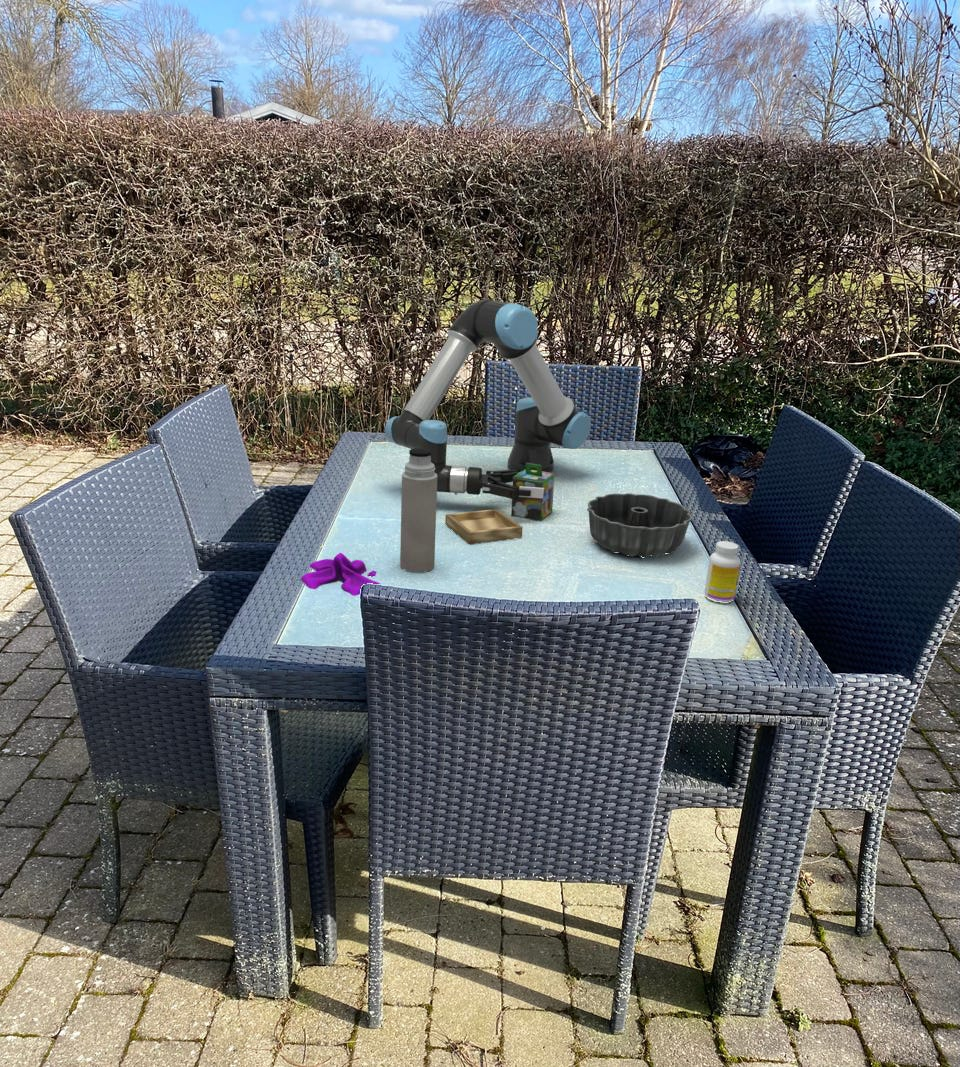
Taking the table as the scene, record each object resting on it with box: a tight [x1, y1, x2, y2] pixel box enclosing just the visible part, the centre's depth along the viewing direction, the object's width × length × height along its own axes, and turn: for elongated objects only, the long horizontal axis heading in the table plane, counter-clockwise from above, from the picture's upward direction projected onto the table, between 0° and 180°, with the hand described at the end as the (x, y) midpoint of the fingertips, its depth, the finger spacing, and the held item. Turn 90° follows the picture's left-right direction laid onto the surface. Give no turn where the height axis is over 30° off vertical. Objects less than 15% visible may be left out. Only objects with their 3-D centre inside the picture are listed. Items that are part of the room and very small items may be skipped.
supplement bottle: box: [704, 540, 741, 602], centre depth 197 cm, size 7×7×13 cm
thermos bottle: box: [399, 448, 438, 573], centre depth 203 cm, size 8×8×28 cm
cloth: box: [301, 552, 381, 597], centre depth 201 cm, size 22×19×6 cm
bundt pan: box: [586, 492, 693, 558], centre depth 227 cm, size 26×26×10 cm
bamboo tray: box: [444, 508, 524, 545], centre depth 232 cm, size 15×15×3 cm
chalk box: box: [510, 463, 555, 522], centre depth 245 cm, size 9×9×15 cm
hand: (544, 485), depth 244 cm, fingers open, 13 cm apart
